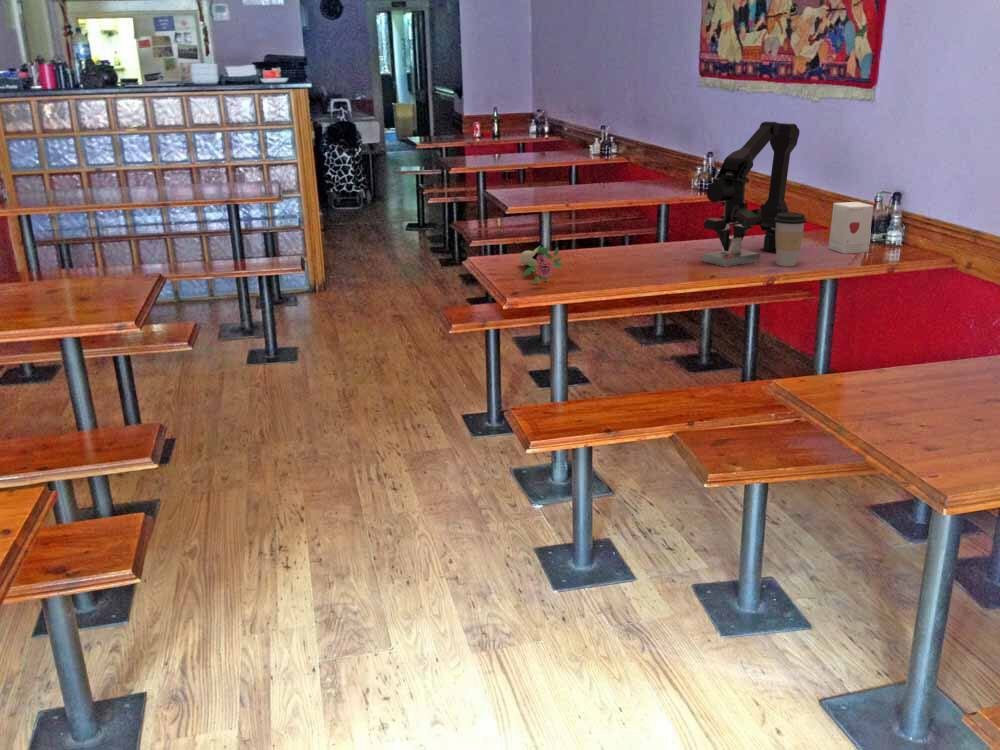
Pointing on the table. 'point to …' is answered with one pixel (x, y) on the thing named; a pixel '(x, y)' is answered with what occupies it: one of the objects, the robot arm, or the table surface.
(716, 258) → the sleeve block
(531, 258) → the flower vase
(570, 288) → the table surface
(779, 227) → the coffee cup
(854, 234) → the supplement box
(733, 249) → the post
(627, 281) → the table surface
